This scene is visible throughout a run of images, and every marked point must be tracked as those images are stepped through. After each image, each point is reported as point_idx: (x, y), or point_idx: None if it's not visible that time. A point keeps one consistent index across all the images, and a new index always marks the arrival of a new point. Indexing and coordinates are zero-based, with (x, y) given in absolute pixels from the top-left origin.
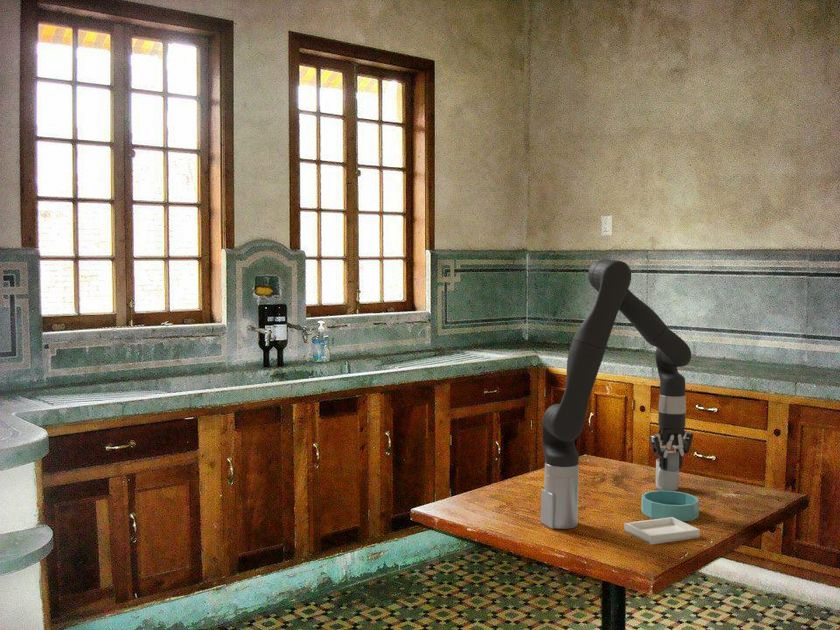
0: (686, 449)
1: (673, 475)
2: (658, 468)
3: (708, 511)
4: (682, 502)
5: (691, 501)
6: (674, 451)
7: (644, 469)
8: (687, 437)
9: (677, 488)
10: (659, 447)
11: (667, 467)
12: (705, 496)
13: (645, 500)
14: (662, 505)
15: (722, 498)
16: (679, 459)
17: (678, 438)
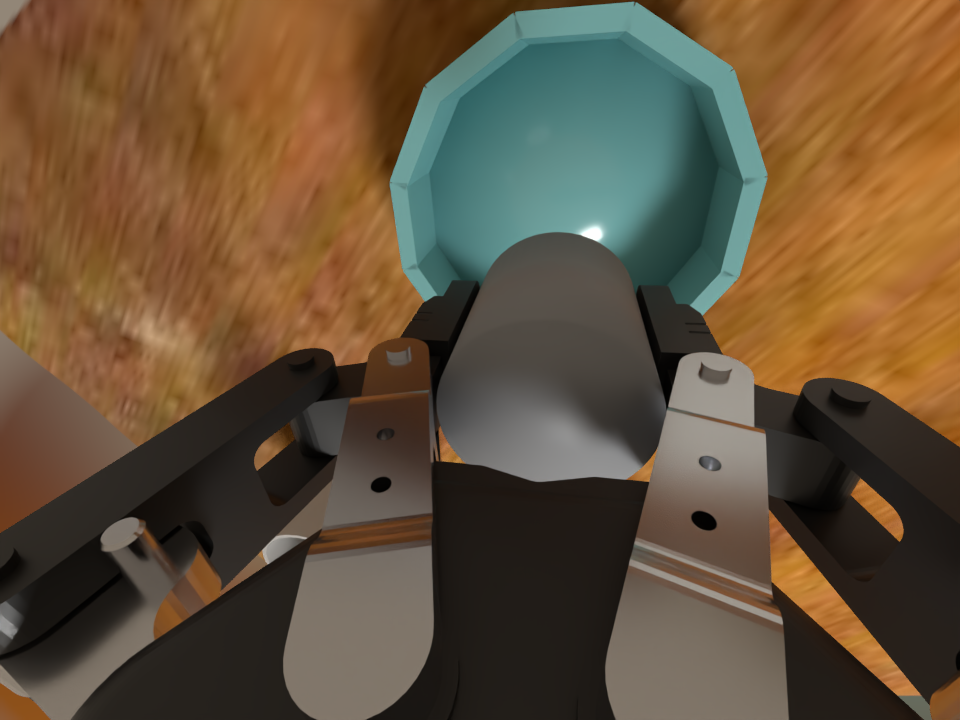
0: (301, 383)
1: (329, 490)
2: None
3: (348, 159)
4: (441, 262)
5: (419, 204)
6: (456, 448)
7: None
8: (132, 559)
9: None
10: (958, 498)
11: (634, 295)
12: (264, 352)
13: (745, 249)
14: (739, 97)
15: (206, 307)
16: (456, 324)
17: (422, 571)
